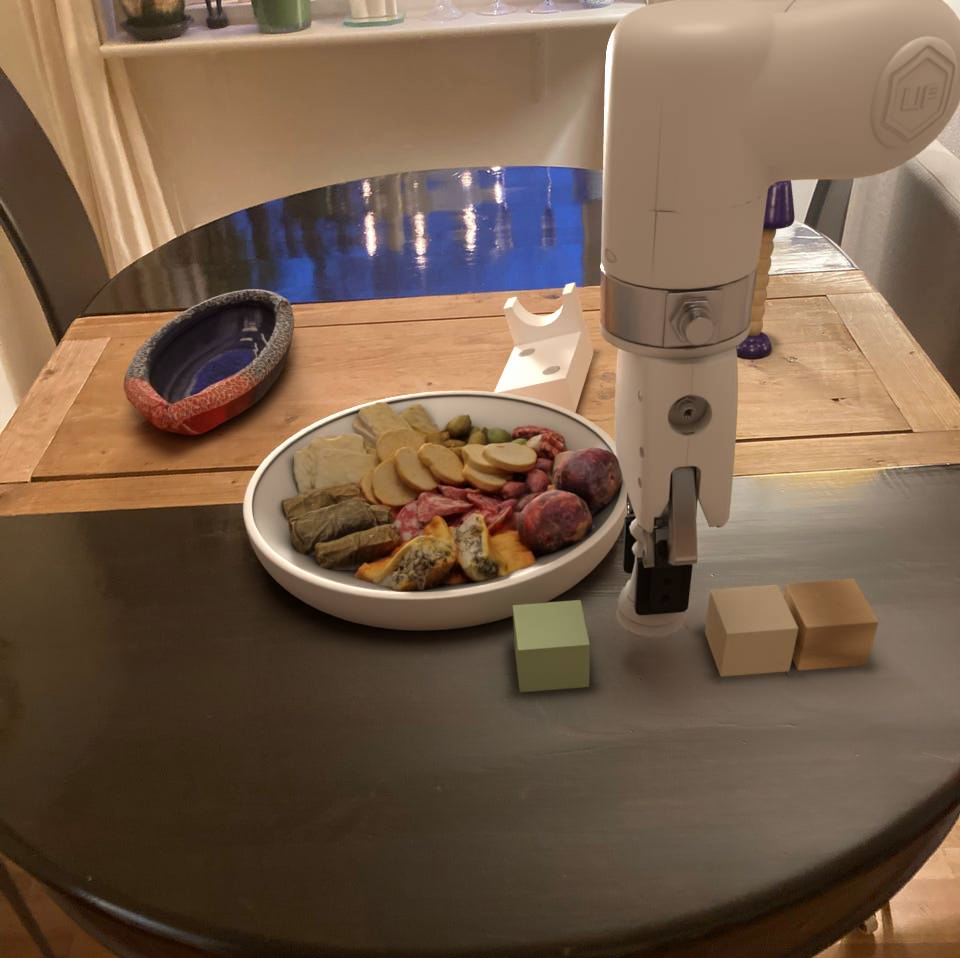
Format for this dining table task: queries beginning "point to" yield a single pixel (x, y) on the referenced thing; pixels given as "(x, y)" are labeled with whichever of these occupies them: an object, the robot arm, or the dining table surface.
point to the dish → (211, 361)
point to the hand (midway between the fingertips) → (654, 587)
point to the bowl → (437, 508)
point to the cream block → (750, 630)
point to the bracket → (548, 352)
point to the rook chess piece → (625, 612)
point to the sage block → (551, 646)
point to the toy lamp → (767, 266)
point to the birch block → (830, 624)
